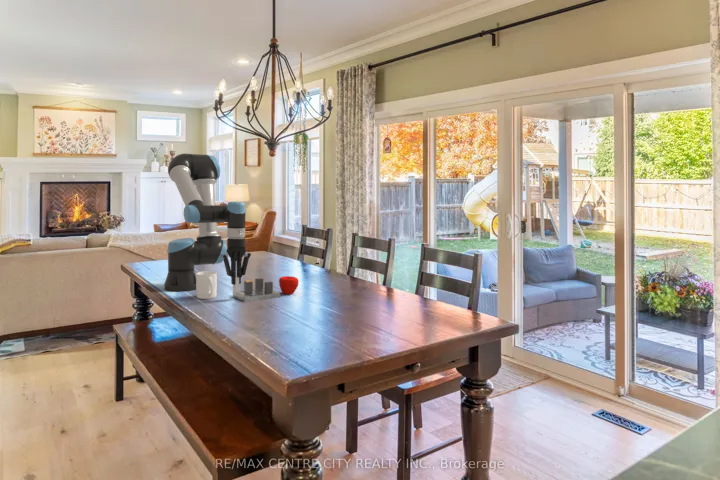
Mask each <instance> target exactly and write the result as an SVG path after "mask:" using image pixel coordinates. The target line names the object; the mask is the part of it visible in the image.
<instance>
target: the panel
mask: <svg viewBox="0 0 720 480" xmlns="http://www.w3.org/2000/svg"><path fill="white" fill-rule="evenodd" d="M232 297H234V298H236V299H238V300H240V301H242V302H245V303H247V302H255V301H261V300H267V299H268V300H270V299H277V298H281V292H279V291H276V290H274V289H273V293H269V294H266V293H264V287H263V289H262V290H256V289H255V288H254V289H253V293H249V294H246V293H244V290H239V292H234V291H232Z"/></svg>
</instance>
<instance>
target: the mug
mask: <svg viewBox="0 0 720 480" xmlns="http://www.w3.org/2000/svg"><path fill="white" fill-rule="evenodd" d="M217 274H218V273H217V272H215V271H199V272H196V273H195V275H196V289H195V295H196V296H195V297H196V298H197V299H200V300H209V299H210V300H211V299H215V298H216V297H217V294H218V293H217V292H218V287H217V283H218V282H217V281H218V278H217Z"/></svg>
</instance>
